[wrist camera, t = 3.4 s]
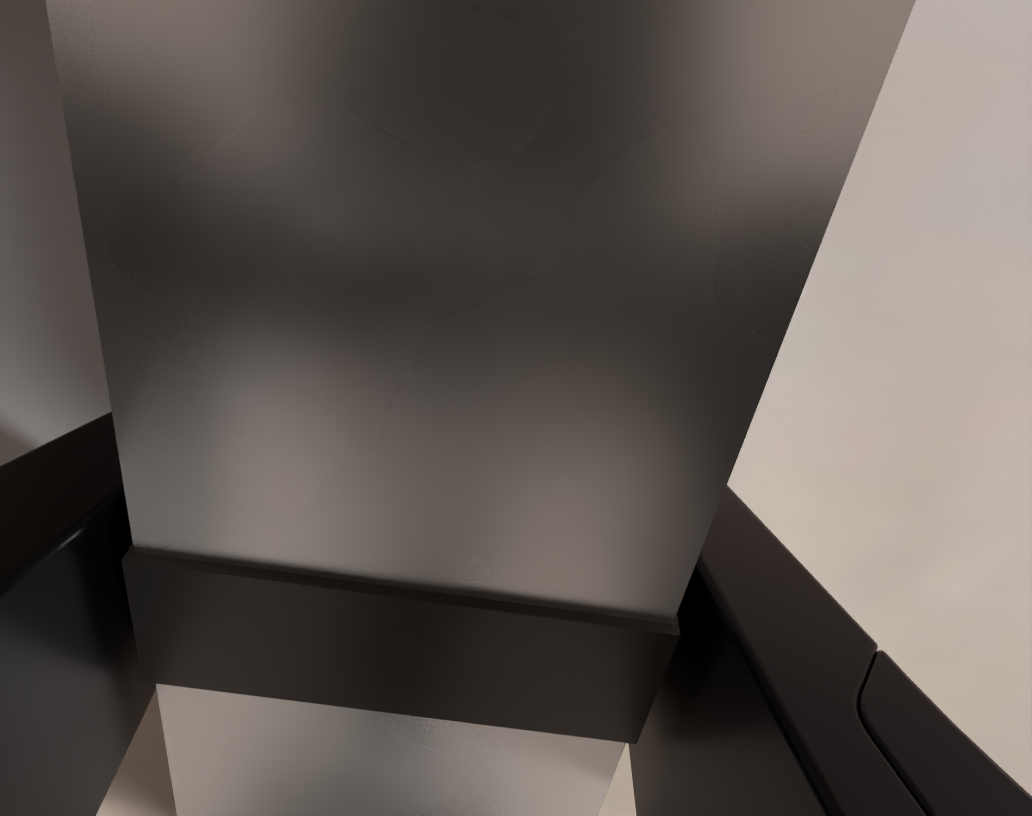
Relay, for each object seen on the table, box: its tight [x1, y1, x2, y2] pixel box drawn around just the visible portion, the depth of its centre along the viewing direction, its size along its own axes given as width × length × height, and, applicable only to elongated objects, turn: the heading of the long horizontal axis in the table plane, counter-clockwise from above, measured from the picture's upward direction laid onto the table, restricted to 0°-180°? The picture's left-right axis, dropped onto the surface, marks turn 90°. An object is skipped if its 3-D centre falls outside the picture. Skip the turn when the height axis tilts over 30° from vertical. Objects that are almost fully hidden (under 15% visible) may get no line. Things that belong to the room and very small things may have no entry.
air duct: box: [45, 0, 915, 816], centre depth 8 cm, size 14×4×4 cm, turn 171°
